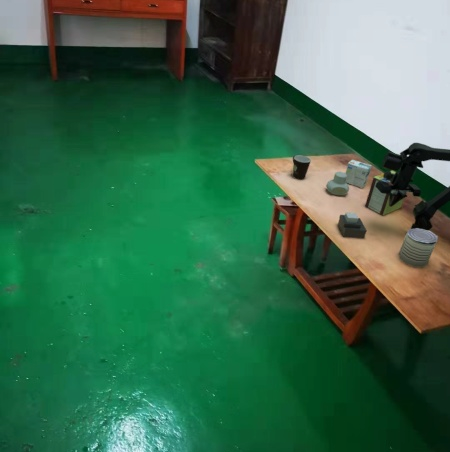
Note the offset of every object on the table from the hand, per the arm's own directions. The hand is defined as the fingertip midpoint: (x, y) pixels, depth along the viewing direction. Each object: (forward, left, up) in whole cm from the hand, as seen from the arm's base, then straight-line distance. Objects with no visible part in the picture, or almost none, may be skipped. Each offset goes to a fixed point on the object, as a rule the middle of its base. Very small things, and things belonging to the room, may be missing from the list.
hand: (390, 206), depth 194 cm
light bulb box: (+20, -39, -12) cm, 46 cm away
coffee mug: (+48, -30, -12) cm, 58 cm away
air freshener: (+26, -23, -12) cm, 37 cm away
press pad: (+13, +11, -7) cm, 18 cm away
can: (-15, +16, -12) cm, 25 cm away
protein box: (+3, -22, -12) cm, 25 cm away
